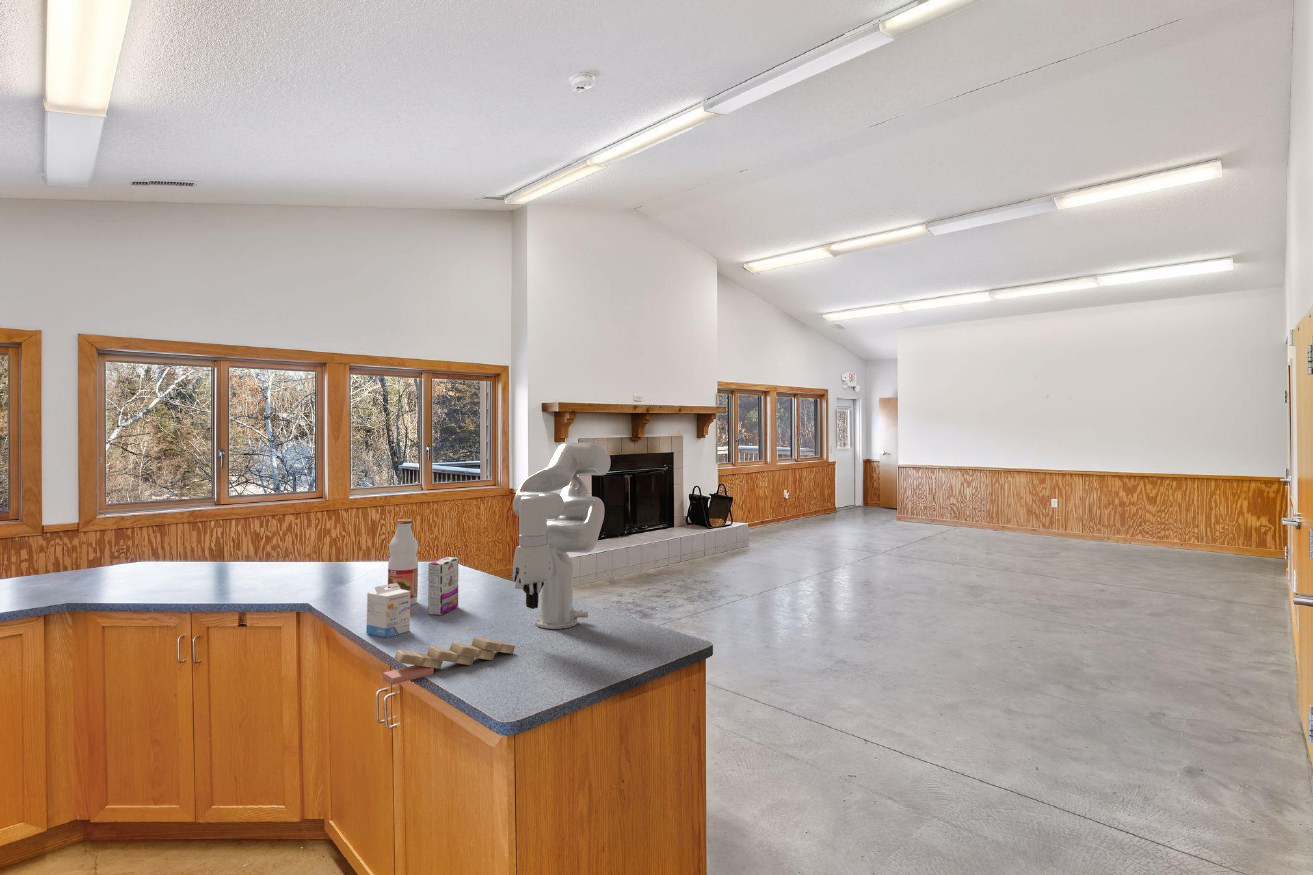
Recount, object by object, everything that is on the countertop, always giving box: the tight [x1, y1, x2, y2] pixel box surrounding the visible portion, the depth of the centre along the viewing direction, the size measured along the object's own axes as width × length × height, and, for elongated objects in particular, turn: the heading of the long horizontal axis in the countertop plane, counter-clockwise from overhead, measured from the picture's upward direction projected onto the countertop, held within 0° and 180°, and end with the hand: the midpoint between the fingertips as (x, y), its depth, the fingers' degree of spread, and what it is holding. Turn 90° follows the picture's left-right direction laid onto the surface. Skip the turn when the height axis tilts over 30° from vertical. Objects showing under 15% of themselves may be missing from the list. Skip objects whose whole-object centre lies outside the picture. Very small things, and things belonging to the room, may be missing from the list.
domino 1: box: [394, 649, 444, 669], centre depth 162 cm, size 2×5×10 cm
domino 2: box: [382, 665, 435, 685], centre depth 159 cm, size 2×5×10 cm
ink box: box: [365, 583, 411, 639], centre depth 193 cm, size 9×8×13 cm
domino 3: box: [426, 646, 475, 666], centre depth 166 cm, size 2×5×10 cm
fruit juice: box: [387, 518, 419, 606], centre depth 225 cm, size 9×9×28 cm
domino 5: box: [471, 637, 516, 655], centre depth 175 cm, size 2×5×10 cm
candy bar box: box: [427, 556, 459, 616], centre depth 217 cm, size 11×5×16 cm, turn 168°
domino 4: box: [448, 641, 496, 661], centre depth 170 cm, size 2×5×10 cm
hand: (532, 607), depth 184 cm, fingers closed
